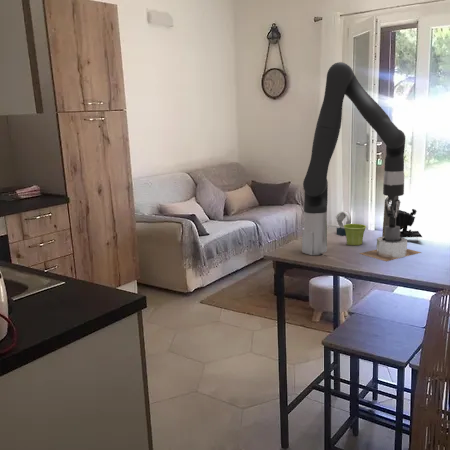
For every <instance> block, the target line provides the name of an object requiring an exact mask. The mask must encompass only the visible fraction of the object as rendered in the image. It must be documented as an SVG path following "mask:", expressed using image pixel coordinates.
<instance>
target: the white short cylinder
mask: <svg viewBox="0 0 450 450" xmlns="http://www.w3.org/2000/svg"><path fill="white" fill-rule="evenodd" d="M384 240H385V236H383V237H382V236H378V237H377V238H376V249H377V254H378V255H379V256H382V257H386V258H398V259H401V257H402V258H405V256H406V255H407V249H408V239H407V238H406V237H400V241H397V242H390V241H384ZM406 257H407V256H406Z"/></svg>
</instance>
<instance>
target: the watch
mask: <svg viewBox="0 0 450 450" xmlns="http://www.w3.org/2000/svg"><path fill="white" fill-rule="evenodd" d="M345 218H346V221H345V224H343V221H344V220H345ZM335 219H336V222H337V225H338V227H336V235H338V236H340V237H344V236H345V237H346V232H345V228H344V225H346V224H352V216H351V214H350V212H349V211H345V210H344V211H343V210H342V211H340V212H338V213H337V214H336V215H335Z"/></svg>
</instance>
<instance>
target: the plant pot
mask: <svg viewBox="0 0 450 450" xmlns="http://www.w3.org/2000/svg"><path fill="white" fill-rule="evenodd" d="M343 225H344V228H345V232H346V236H345V240H346V246H361V245H362V244H363V239H364V236H365V235H364V233H365V230H366V228H367V225H365V224H362V223H351V224H346V223H345V224H343Z"/></svg>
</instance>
